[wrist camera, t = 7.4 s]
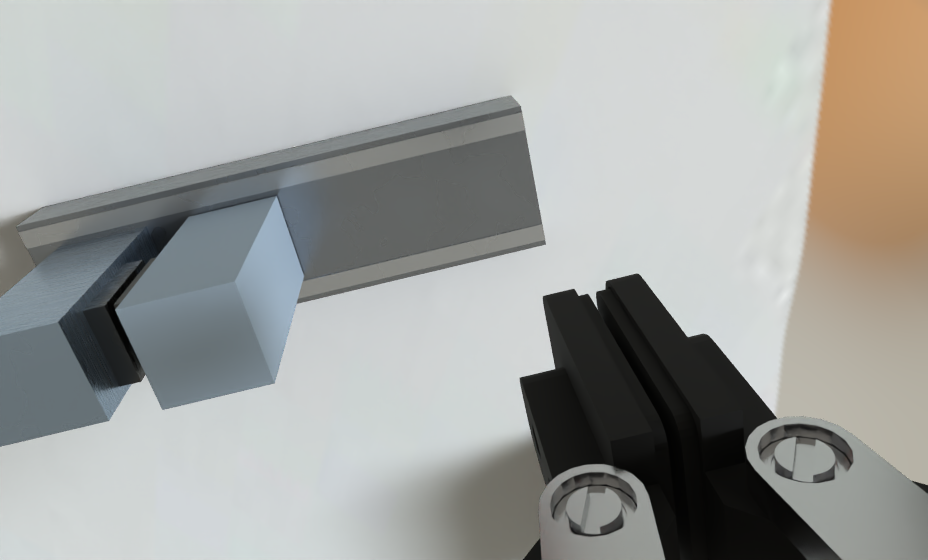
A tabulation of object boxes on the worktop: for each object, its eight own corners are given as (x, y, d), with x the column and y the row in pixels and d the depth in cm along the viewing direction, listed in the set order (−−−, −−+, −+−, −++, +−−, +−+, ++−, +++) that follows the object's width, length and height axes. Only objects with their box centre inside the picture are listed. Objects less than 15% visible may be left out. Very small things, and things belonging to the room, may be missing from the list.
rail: (42, 207, 25) (-124, 324, 17) (511, 95, 25) (569, 159, 17) (102, 328, 27) (-21, 485, 19) (535, 225, 27) (597, 338, 19)
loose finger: (171, 220, 24) (91, 315, 17) (276, 195, 24) (234, 281, 17) (203, 299, 25) (140, 415, 19) (304, 275, 25) (274, 383, 19)
